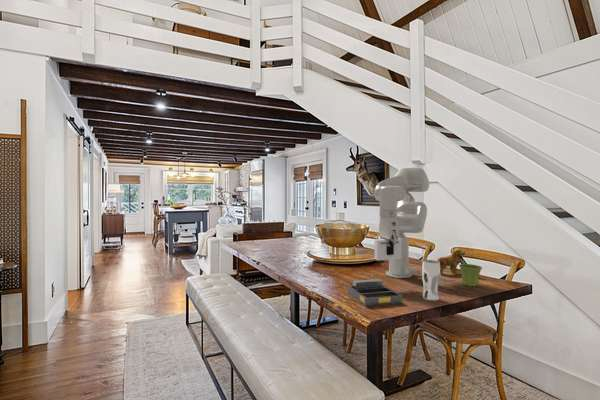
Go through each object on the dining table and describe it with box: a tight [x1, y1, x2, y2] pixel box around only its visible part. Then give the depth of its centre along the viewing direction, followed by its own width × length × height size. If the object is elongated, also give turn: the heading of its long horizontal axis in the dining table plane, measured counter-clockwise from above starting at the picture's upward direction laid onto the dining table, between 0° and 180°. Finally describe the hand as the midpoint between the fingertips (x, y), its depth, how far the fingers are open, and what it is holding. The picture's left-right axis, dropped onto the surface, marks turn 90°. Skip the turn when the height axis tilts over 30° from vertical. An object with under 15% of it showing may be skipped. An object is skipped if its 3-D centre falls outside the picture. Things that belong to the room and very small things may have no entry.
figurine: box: [436, 248, 466, 276], centre depth 172 cm, size 15×6×13 cm, turn 94°
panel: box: [373, 238, 402, 261], centre depth 149 cm, size 12×3×9 cm, turn 105°
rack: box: [347, 278, 403, 308], centre depth 132 cm, size 15×17×6 cm
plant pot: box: [458, 263, 483, 288], centre depth 151 cm, size 9×9×9 cm
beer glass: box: [421, 259, 441, 302], centre depth 132 cm, size 7×7×15 cm
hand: (388, 253), depth 149 cm, fingers closed on panel, 3 cm apart
